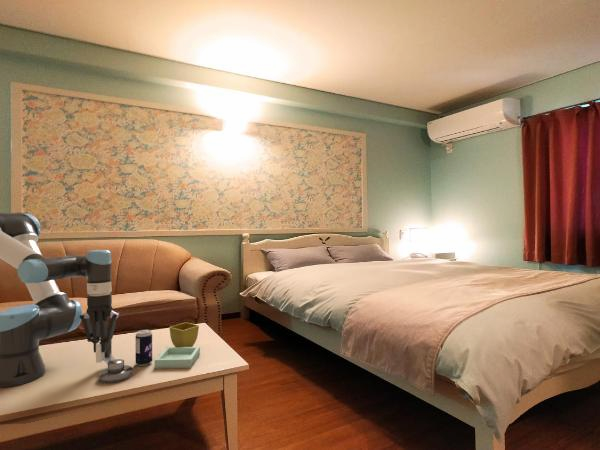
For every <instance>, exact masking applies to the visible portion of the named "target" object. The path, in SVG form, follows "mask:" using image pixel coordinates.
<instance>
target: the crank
mask: <svg viewBox="0 0 600 450" xmlns="http://www.w3.org/2000/svg"><path fill="white" fill-rule="evenodd" d="M112 339H113V338H112ZM112 339H111V340H109V341H107V350H106V351H105V352H104V359H105V360H103V361H104V362H105V363H106V365H107V368H108V373H109V374H116V373H120V372H122V371H124V365H125V359H122V358H119V359H118V358H117V359H116V358H115V357H114V356H113V355H112V352H113V351H112V348H113V347H112V343H113V342H112Z"/></svg>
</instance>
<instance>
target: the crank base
mask: <svg viewBox="0 0 600 450" xmlns="http://www.w3.org/2000/svg"><path fill="white" fill-rule="evenodd" d="M132 376H133V367H132V366H130V365H127V364H124V371H122V372H120V373H116V374H109V373H108V367H106V368H104V369H102V370H100V372H99V373H98V381H99V382H100V383H101V384H107V385H108V384H117V383H121V382H124V381H126V380H129V379H130V378H131V377H132Z"/></svg>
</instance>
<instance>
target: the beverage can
mask: <svg viewBox="0 0 600 450" xmlns="http://www.w3.org/2000/svg"><path fill="white" fill-rule="evenodd" d="M152 362H153V333H152V330H151V329H141V330H138V331H136V334H135V364H136V365H137V366H139V367H146V366H149V365H150V364H151V363H152Z"/></svg>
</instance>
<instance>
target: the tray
mask: <svg viewBox="0 0 600 450" xmlns="http://www.w3.org/2000/svg"><path fill="white" fill-rule="evenodd" d="M200 355H201V347H200V346H192V347H175V346H172V347H171V346H170V347H165V349H164V350H163V351H161V352H160V354H159V355H157V357H156V358H155V359H154V369H191V368H192V367H193V366H194V364H195V363H196V361H197V360H198V358H199V357H200Z"/></svg>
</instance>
